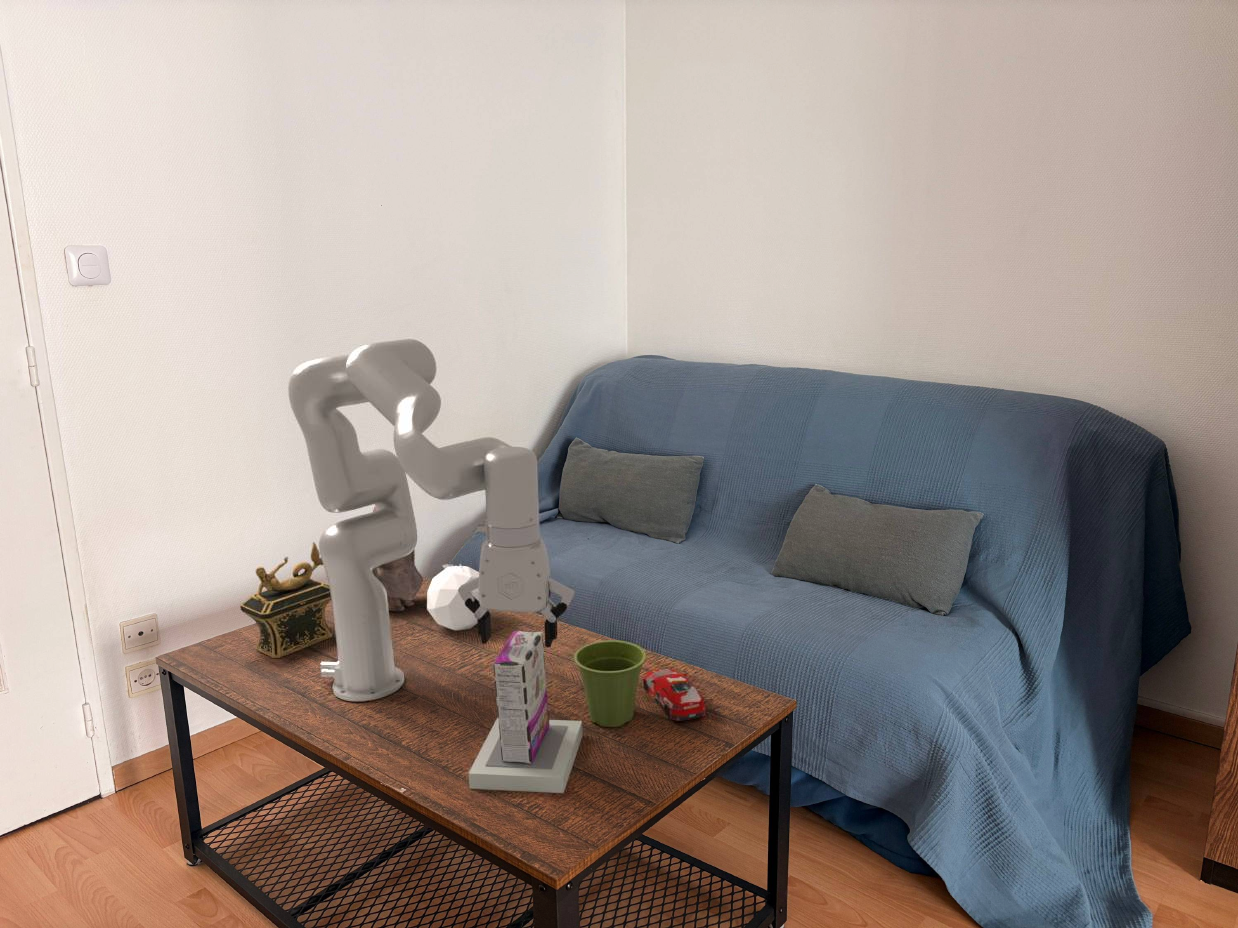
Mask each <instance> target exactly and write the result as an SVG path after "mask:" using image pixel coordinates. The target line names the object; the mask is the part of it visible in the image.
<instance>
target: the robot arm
mask: <svg viewBox="0 0 1238 928" xmlns="http://www.w3.org/2000/svg"><path fill="white" fill-rule="evenodd" d="M436 375H437V362H436V359H435V356H434V353H432V351H431V349H430V348H429V347H428V346H427V345H426V344H424V343H423V342H421V341H420V340H417V339H413V338H404V339H397V340H396V339H395V340H387V341H380V342H372V343H367V344H365V345H362V346H360V347H358V348H356V349H355V350H353V351H352V352H351V354H344V355H334V356H328V357H322V358H316V359H313V360H309V361H306V362H304V363H302V364H300V365H298V366H297V367H296V368H295V369H294V370H293V371H292V373H291V376H290V378H289V381H288V387H287V388H288V389H287V390H288V391H287V392H288V399H289V405H290V408H291V410H292V412H293V415H294V417H295V419H296V422H297V423H298V425H299V428H300V430H301V433H302V435H303V437H304V441H305V443H306V450H307V455H308V460H309V463H310V469H311V472H312V476H313V477H312V479H313V483H314V487H315V492H316V495H317V497H318V498H317V499H318V501H319V503H320V505H321V507H322V508H323V509H324V510H325V511H326V512H329V513H331V514H332V513H333V514H340V513H341V514H342V513H346V512H350V511H355V510H358V509H362V508H366V507H368V506H373V505H374V507H376V511H375V512H373V511H371V512H368V513H365V514H361V515H357V516H354V517H350V518H346V519H343V520H340V521H338V522H335V523H334V524H331V525H330V526H328V527H327V528H326V529H325V530H324V531H323V532H322V533H321V536H320V538H319V541H318V550H319V553H320V558H321V559H322V562H323V565H322V566H323V567H324V571H325V574H326V578H327V581H328V585H329V588H330V594H331V601H330V602H331V607H332V617H333V623H334V632H335V642H336V650H337V658H338V661H327V660H324V661H321V663H320V666H319V670H320V677H322V678H333V679H334V680H333V683H332V692H333V694H334V695H335V697H337V698H339V699H340V700H343V701H346V702H347V701H348V702H367V701H368V702H369V701H374V700H378V699H382V698H385V697H387V696H390V695H392V694H393V693H395V692H397V691H398V690H399V689H400V688H401V687H402V686H403V685H404V683H405V674H404V672H403V670H402V669H400V668H398V667H396V666H395V662H394V661H395V660H394V651H393V642H392V640H393V639H392V632H391V631H392V630H391V623H390V622H391V620H390V613H389V612H390V611H389V610H388V601H387V593H386V590H385V587H384V585H383V584H382V583H381V582H380V581H379V580H378V579H377V578H376V577H375V576H374V574H373V572H372V570H373V569H374V568H375V567H378V566H380V565H382V564H385V563H388V562H391V561H394V560H397V559H400V558H403V557H405V556H407V555H409V554H410V553H411V552H412V551H413V550H414V549H415V548H416V546H417V543H418V530H417V529H418V528H417V522H416V516H415V512H414V507H413V503H412V498H411V497H412V496H411V492H410V488H409V487H410V486H409V483H408V479H407V478H408V477H409V478H410V479H411V480H412V481H413V482H414V483H415V484H416V485H417V486H418V487H419V488H420V489H421V490H422V491H424V492H425V494H426V493H427V495H429V496H430V497H432V498H433V499H434V498H435V499H437V500H442V501H444V500H446V501H447V500H448V501H449V500H453V499H456V498H460V497H464V496H467V495H469V494H473V493H476V492H481V491H485V493H484V495H485V513H486V522H484V523H478V524H477V526H476V527H477V528H476V529H477V533H478V534H482V535H484V536H485V540H484V541H483V542H482V543H481V547H480V555H479V567H478V572H479V577H478V578H476V579H473V580H471V581H469V582H467V583H465V584H463V585H461V586H460V587H459V589H458V592H459V594H460V596H461V598H462V599H463V600H464V602H465V606H466V607H467V608H468V609H469V610H470V611H471V612H473V613H474V617H475V618H477V622H478V623H477V634H478V636H479V637H480V638H481V644H483V645H486V644H487V643H488V641H489V640H490V639H491V637H492V635H493V634H492V613H491V612H490V611H494V612H511V613H512V612H513V613H541V614H542V615H543V617H545V618H546V619H545V622H544V623H543V625H544V647H546V648H551V646H552V644H553V642H554V641H556V640H557V639H558V638H557V637H558V619H559V617H561V616H562V615H563V614H564V613H565V612H566V611H567V609H568V607H569V606H570V604H571V601H572V600H573V598H574V595H575V590H574V589H572V588H571V587H568V586H567V585H565V584H562V583H561V582H559V581H557V580H555V579H553V578H552V577H551V568H550V563H549V556H548V550H547V547H546V543H545V540H544V539H543V538H541V537H540V536H541V535H540V534H541V532H540V506H539V504H540V503H539V480H538V479H539V477H538V459H537V456H536V454H535V452H534V451H533V450H531V449H529V448H527V447H523V446H512V445H510V444H508V443H506V442H504V441H502V440H500V439H498V438H495V437H489V436H488V437H480V438H475V439H473V440H466V441H463V442H458V443H454V444H450V445H446V446H443V447H442V446H441V447H438V446H436V445H435V444H434V443H432V442H431V441H430V440H429V439H428V438H427V437H426V436H425V435H424V434H423V433H424V432H425V431H427V429H429V427H430V426H431V425H432V424H433V423H434V422H435V421H436V419H437V417H438V415H439V414H440V411H441V408H442V400H441V396H440V393H439V392H438V391H437V389H435V388H434V387H433V385H431V384H432V383H433V382H434V380H435V377H436ZM364 403H365V404H367V403H370V404H371V405H372V406H373V407H374V408H375V410H377V412H379V413H380V415H382V416H383V417H384V418H385V419H386V420H387V421H388V422H389V423H390V424H391V425H392V426H394V429H393V447H394V451H395V452H394V453H395V454H394V453H393V452H391V451H390V450H387V449H385V448H384V449H383V448H382V449H381V448H379V449H378V448H376V449H370V450H367V451H361V449H360V445H359V441H358V435H357V431H356V429H355V427H354V425H353V424H352V422H351V421H350V420H349V419H348V418H347V416H346V415H345V414H344V413H342V411H340V410H339V409H338V408H341V407H346V406H347V407H348V406H353V405H360V404H364ZM407 476H408V477H407ZM477 588H479V601H478V600H477V599H476V598H475V597H474V596H473V595H472V593H471V591H473V590H475V589H477ZM552 593H555V594H556V595H558V596H560V597H561V601H560V602H559V603H557V605H556V604H555V603H554V602H553V601H552V599H551V598H552Z"/></svg>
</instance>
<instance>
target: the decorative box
mask: <svg viewBox="0 0 1238 928" xmlns="http://www.w3.org/2000/svg"><path fill="white" fill-rule="evenodd" d="M311 547H312V548H311V552H310V561H312V562H313V565H311V564H310V563H309V562H307V561H301V562H299V563H297V564H296V565H295V566H294V568H293V569H292V576H293V577H290V578H286V579H284V580H281V582H280V581H279V579H278V578H277V576H275V574H277V572H278V571H279V570H280V569H281V568H283V567H284V566H285V565H286V564H288V560H289V556H286V557H284V558H283V560H284V562H281V563H280V564H278V566H277V565H276V567H275V568H274V569H273V570H271V571H270V572H269V573H267V571H266V569H265V568H264V567H262V566H258V567H256V568H255V574H256V576H257V577H258V579H259V580H260V583H259V585H258V590H257V593H254V594H252V595H251V596H250V597H249V598H247V599H246V600H245V601H244V602H242V603H241V604H240V606H239V607H240V611H242V613H244V614H246V615H247V616H248V617H250V619H252V621H253V620H254V621H255V624H257V627H258V628H259V638H258V639H259V640H258V642H257V645H256V648H255V650H256V651H258V652H260V653H262V654H264V655H267V656H268V657H271V658H273V659H279V658H282V657H286V656H288V655H291V654H294V653H296V652H297V651H300V650H303V649H305V648H308V647H311V646H313V645H316V644H318V643H321V642H323V641H325V640H328V639H331V638H332V637H333V635H334V634H333V632H332V630H331V628H330V627H329V625H328V623H327V621H326V617H325V615H326V614H325V613H326V608H327V605H329V603H330V602H332V601H331V594H330V588H329V584H327V583H324V582H321V581H319V580H317V579H313V578H311V576H312V575H313V572H314V571H315V570H316V569H317V568H318V567H319V566H324V565H323V562H322V559H321V555H320V551H319V548H318V546H317V544H316V542H314V541H313V542H312V546H311ZM302 570H304V571H303V572H302V573H300V572H301V571H302ZM299 573H300V574H299ZM263 588H265V590H263Z"/></svg>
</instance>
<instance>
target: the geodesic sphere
mask: <svg viewBox="0 0 1238 928" xmlns="http://www.w3.org/2000/svg"><path fill="white" fill-rule="evenodd" d="M442 567H443V570H442V571H441V572H439V573H438V574H437V575H436V576H434V577H432V580H431V582H430V585H429V587H428V589H427V592H426V602H427V603H426V610H427V611H428V612H429V614H430V615H431V616H432V618H433V620H434V621H435V623H437V625H439V626H442V627H444V628H448V629H450V630H453V631H463V630H470V629H472V628H473V627H474V626H476V625H478V622H477V618H475V617H474V613H473V612H471V611H470V610H469V609H468V608H467V607H466V606H465V602H464V600H463V599H462V598H461V596H460V594H459V592H458V589H459V587H460V586H461V585H463V584H465V583H467V582H469V581H471V580H473V579H476V578H478V577H479V571H477V570H475V569H473V568H471V567H469V566H466V565H465V566H463V565H461V564H459V565H457V564H455V566H454V564H451V563H449V564H447V563H445V564H442ZM471 593H472V595H473V596H474V597H475V598H476V599H477V600H478V601H479V588H477V589H475V590H473V591H471Z"/></svg>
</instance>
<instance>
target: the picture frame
mask: <svg viewBox="0 0 1238 928" xmlns="http://www.w3.org/2000/svg"><path fill="white" fill-rule="evenodd" d="M549 724H550V726H549V728H548V730H547V732H546V734H545V736H544V738H543V741H542V743H541V745H540V747H539V749H538V751H537V753H536V756H535V758H534V760H533V762H532V764H524V763H507V762H502V755H501V744H500V732H499V721H498V717H496V720H495V721H494V724H493V725H492V728H491V729H490V730H489V733H488V735H487V737H486V739H485V741H484V743H483V744H482V747H481V748H480V751H479V752H478V754H477V756H476V758H475V760H474V762H473V764H472V766H471V767H470V769H469V771H468V782H469V789H471V790H487V791H488V790H491V791H492V790H493V791H508V792H509V791H510V792H511V791H512V792H513V791H514V792H533V793H534V792H535V793H554V794H564V793H565V790H566V788H567V783H568V781H569V778H570V775H571V773H572V769H573V767H574V766H573V765H574V763H575V760H576V756H577V753H578V750H579V747H580V744H581V741H582V738H583V736H584V735H583V721H582V720H565V719H563V720H561V719H560V720H559V719H549Z"/></svg>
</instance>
